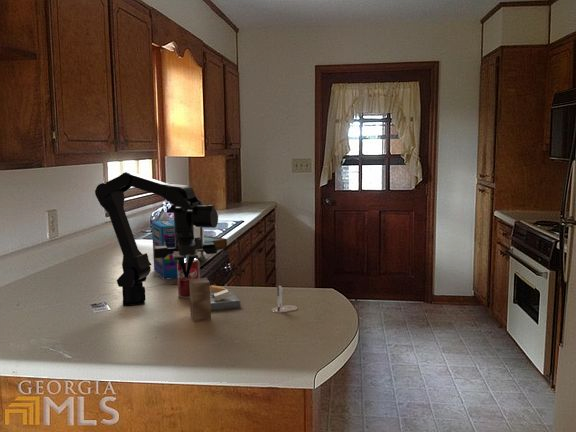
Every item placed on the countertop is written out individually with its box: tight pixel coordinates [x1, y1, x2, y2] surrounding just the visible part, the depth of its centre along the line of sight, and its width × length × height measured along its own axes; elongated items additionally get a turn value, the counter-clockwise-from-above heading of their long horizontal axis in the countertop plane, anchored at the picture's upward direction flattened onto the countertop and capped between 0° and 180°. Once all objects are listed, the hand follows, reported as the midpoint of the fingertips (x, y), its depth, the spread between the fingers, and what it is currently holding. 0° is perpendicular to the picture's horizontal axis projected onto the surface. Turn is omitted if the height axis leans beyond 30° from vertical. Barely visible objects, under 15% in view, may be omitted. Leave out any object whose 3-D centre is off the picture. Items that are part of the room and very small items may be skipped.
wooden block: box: [210, 284, 227, 293], centre depth 171 cm, size 4×3×2 cm, turn 108°
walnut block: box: [189, 277, 212, 323], centre depth 153 cm, size 5×6×11 cm
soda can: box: [176, 258, 201, 299], centre depth 177 cm, size 7×7×12 cm
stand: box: [271, 285, 298, 314], centre depth 159 cm, size 8×5×8 cm
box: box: [151, 219, 186, 280], centre depth 209 cm, size 17×9×20 cm, turn 26°
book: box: [204, 234, 228, 250], centre depth 266 cm, size 23×18×5 cm
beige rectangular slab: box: [214, 288, 230, 301], centre depth 164 cm, size 4×3×2 cm, turn 108°
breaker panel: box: [210, 288, 242, 311], centre depth 168 cm, size 10×14×2 cm
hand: (186, 277), depth 163 cm, fingers closed
